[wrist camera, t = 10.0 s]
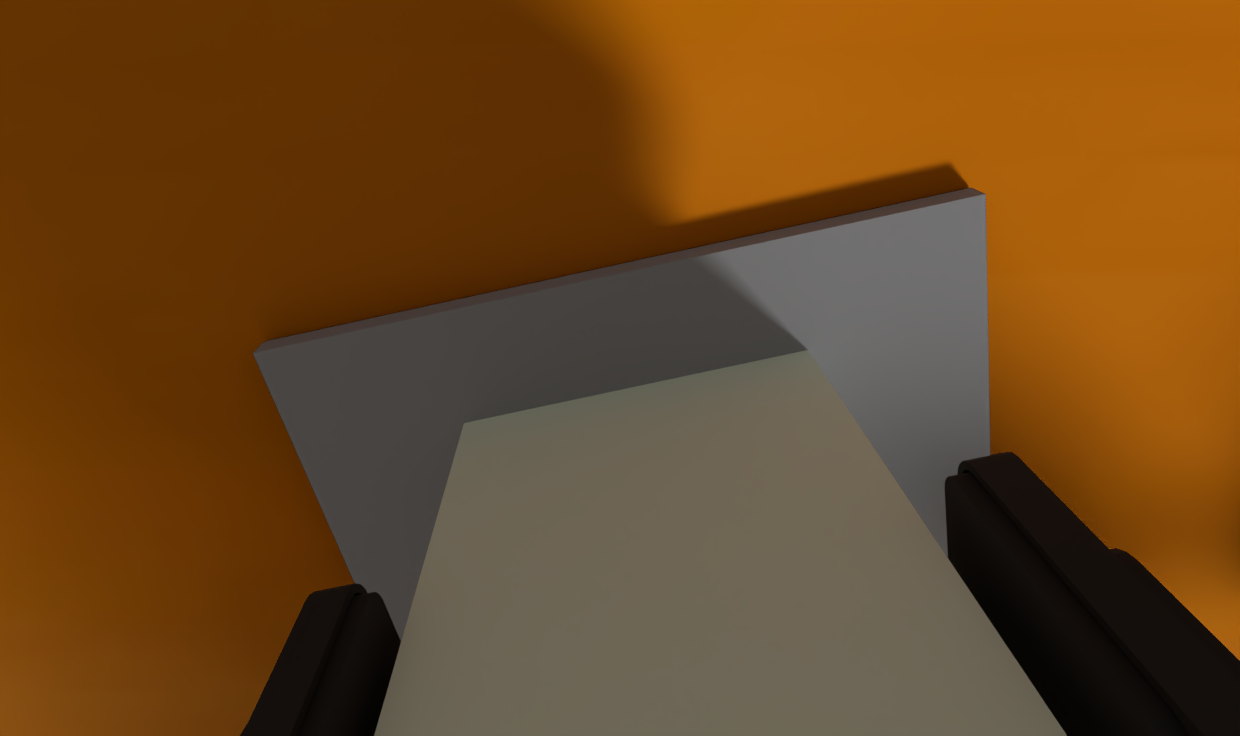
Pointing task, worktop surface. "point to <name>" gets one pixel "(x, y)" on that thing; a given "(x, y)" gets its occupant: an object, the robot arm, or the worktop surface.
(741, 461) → the domino
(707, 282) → the mat
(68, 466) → the worktop surface
